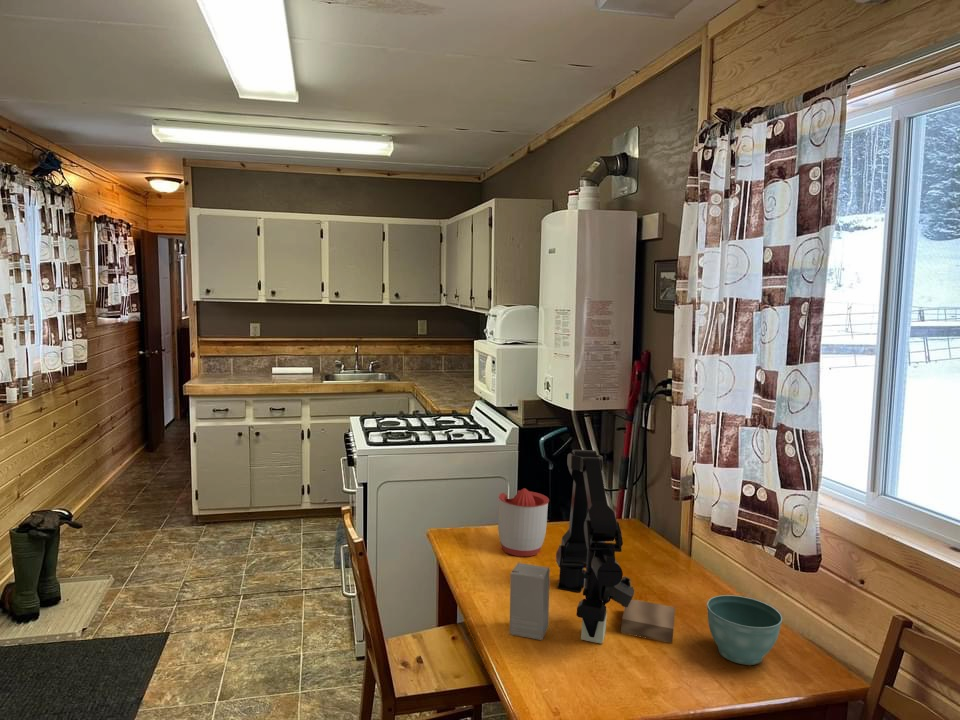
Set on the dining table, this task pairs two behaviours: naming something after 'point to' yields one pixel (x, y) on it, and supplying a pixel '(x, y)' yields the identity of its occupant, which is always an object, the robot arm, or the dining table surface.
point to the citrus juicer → (522, 522)
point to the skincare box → (529, 601)
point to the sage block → (598, 634)
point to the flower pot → (743, 627)
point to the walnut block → (649, 620)
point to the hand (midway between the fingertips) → (593, 631)
